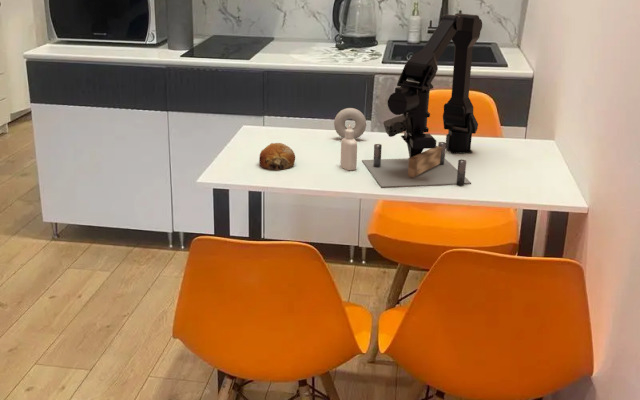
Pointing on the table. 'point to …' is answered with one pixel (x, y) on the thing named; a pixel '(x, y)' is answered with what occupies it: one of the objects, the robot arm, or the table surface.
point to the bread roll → (277, 157)
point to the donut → (350, 114)
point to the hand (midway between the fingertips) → (412, 163)
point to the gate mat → (397, 176)
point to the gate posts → (441, 144)
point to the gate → (424, 161)
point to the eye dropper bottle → (349, 150)
